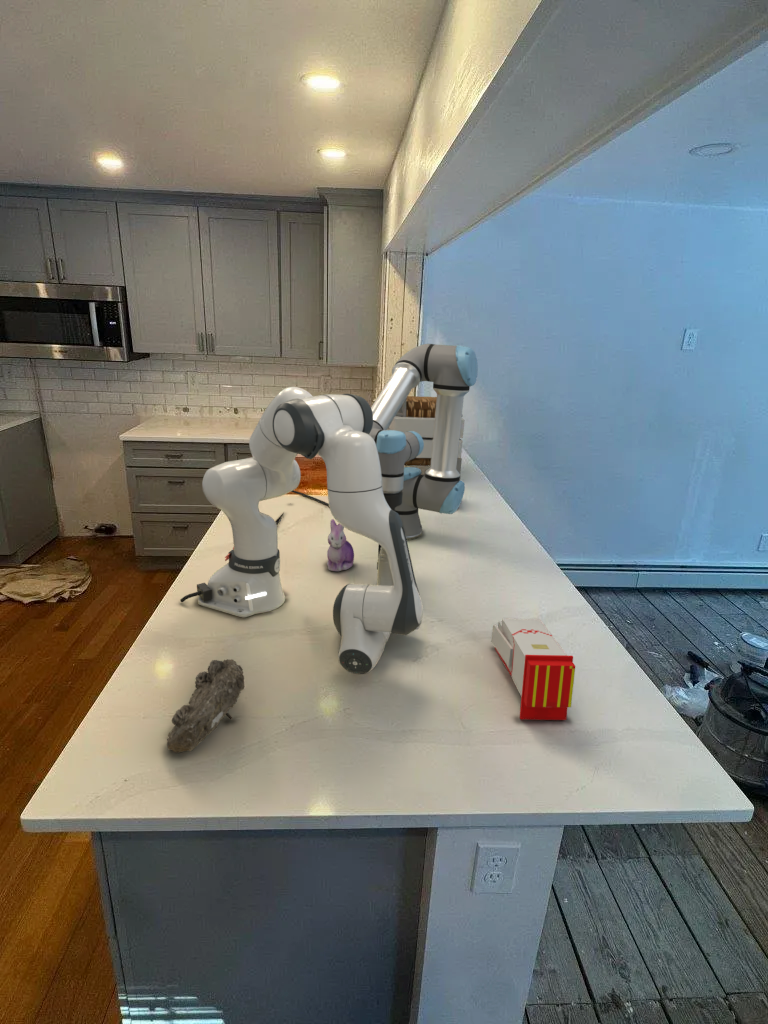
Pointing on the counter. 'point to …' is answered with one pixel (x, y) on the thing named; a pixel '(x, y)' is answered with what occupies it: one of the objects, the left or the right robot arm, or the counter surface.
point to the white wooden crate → (421, 427)
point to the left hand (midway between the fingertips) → (386, 596)
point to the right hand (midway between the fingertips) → (384, 569)
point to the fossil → (206, 705)
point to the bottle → (384, 569)
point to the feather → (279, 518)
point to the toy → (535, 667)
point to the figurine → (339, 549)
